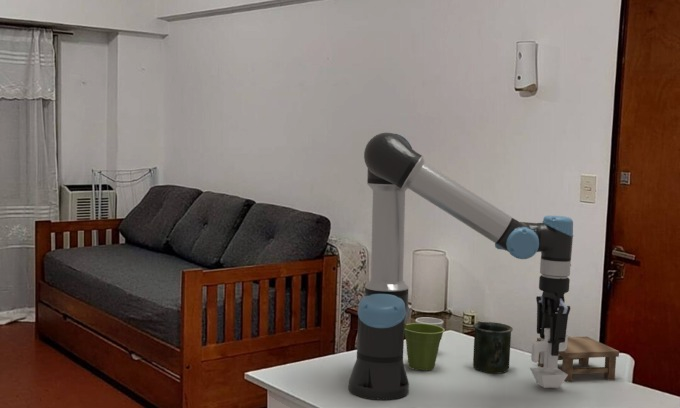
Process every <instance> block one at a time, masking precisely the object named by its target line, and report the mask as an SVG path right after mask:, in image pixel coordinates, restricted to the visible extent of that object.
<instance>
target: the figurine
mask: <svg viewBox="0 0 680 408" xmlns="http://www.w3.org/2000/svg"><path fill="white" fill-rule="evenodd" d="M544 335H545V339H544V341H537V340H536V341H534V342H532V345H531V354H530V355H531V356H530V357H531V358H530V359H531V361H532V362H533V363H537V364H538V360H539V353H540V352H544V367H539V366H538V367H529V369H530V371H531V373H532V376H533V378H534V380H535V382H536V384H538V385H539V386H541V387H542V388H545V389H546V388H547V389H550V388H552V389H553V388H561V386H562V384H563V383H564V382H565V381H564V380H565V379H566V377H567V376H568V374H566V373H565V372H563V371H562V369H559V368H558V367H557V368H547V367H546V366H547V351H548V341H550V328H544ZM568 335H569V334H568V330H566V337H565V342H563V343H560V344H559V351H565V350H566V349H567V339H568V337H569V336H568Z"/></svg>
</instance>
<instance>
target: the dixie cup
mask: <svg viewBox="0 0 680 408" xmlns="http://www.w3.org/2000/svg"><path fill="white" fill-rule="evenodd" d="M415 323H424V324H432V325H437V326H440V327H442V328H443V325H444V319H440V318H438V317H437V318H436V317H428V316H427V317H417V318H416V319H415Z"/></svg>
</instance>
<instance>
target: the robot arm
mask: <svg viewBox="0 0 680 408" xmlns="http://www.w3.org/2000/svg"><path fill="white" fill-rule="evenodd" d="M363 158H364V163H365V165H366V168H367V180H366V181H367V182H366V184H367V186H368V187H369V188H370V189H371V191H372V207H371V208H372V210H371V211H372V213H371V214H372V215H371V224H372V225H371V261H370V266H371V267H370V280H369V281H368V282H367V283H365V285H364V296H363V297H361V299H360V300H359V302H358V303H359V304H358V309H357V316H358V317H357V318H358V319H357V342H356V360H355V362H354V365H353V368H352V371H351V373H350V377H349V379H348V391H349V392H350V393H351V394H352V395H355V396H358V397H361V398H364V399H371V400H395V399H400V398H403V397H405V396H407V395H409V391H410V382H409V379H408V376H407V371H406V367H405V364H404V343H405V342H404V341H405V332H404V329H405V326H406V324H408V320H409V318H410V307H409V286H408V285H407V283H406V282H405V281H404V255H405V254H404V253H405V216H406V215H405V214H406V213H405V212H406V211H405V210H406V208H405V207H406V191H407V190H408V189H409V190H410V191H412V192H414V193H415V194H416V195H418V196H420V197H421V198H423V199H424V200H426V201H428V202H429V203H431V204H433V205H434V206H435V207H437V208H439V209H440V210H442V211H444V212H445V213H447V214H448V215H450V216H452V217H453V218H455V219H456V220H458V221H459V222H461V223H462V224H464V225H466V226H468V227H470V229H472V230H474V231H476V232H477V233H478V234H479V235H482V236H484V237H485V238H487V239H488V240H490V241H491V242H493V243H494V247H495V249H497V250H504V251H507V252H508V253H509V254H510V255H511V256H512V257H514V258H516V259H518V260H519V259H520V260H527V259H530V258H532V257H533V256H535V255H536V254H537V253H541V254H540V255H541V256H540V263H539V264H540V266H539V274H540V276H539V279H538V280H539V282H538V289H539V291H542V294H541V295H539V296H536V298H535V300H536V333H537V334H538V335H539V338H541V341H544V339H545V335H544V328H550V341H548V351H547V366H546V367H547V368H558V366H559V365H558V363H559V362H558V361H559V360H558V354H559V344H560V343H563V342H565V337H566V331H567V327H568V321H569V320H568V319H569V315H570V311H571V306H570V305H567V304H565V301H566V300H565V294H566V293H568V292H569V291H570V278H569V277H570V275H571V267H572V264H571V262H572V261H571V260H572V253H573V252H572V251H573V250H572V249H573V240H574V221H573V219H572V218H571V217H567V216H563V215H545V216H544V217H543V220H542V222H525V221H518V219H515V218H513V217H512V216H510V215H509V214H507V213H506V212H505V211H503V210H501V209H499V208H498V207H496V206H495V205H494V204H492V203H490V202H488V201H487V200H485V199H484V198H482V197H481V196H479V195H477V194H476V193H474V192H473V191H471V190H470V189H468V188H467V187H465V186H463V185H461V184H460V183H459V182H456V180H453V179H452V178H450V177H449V176H447V175H445V174H444V173H442V172H441V171H439V170H438V169H436V168H434V167H433V166H431V165H430V164H428V163H427V162H425V158H424V156H423V155H422V154H420V153H418V151H415V150H414V149H413V147H412V144H411V143H410V141H408V139H407V138H405V137H404V136H402V135H401V134H398V133H393V132H381V133H378V134H376V135H374V136H372V138H370V139H369V141H367V144H366V146H365V148H364V152H363ZM540 363H541V364H544V352H540Z"/></svg>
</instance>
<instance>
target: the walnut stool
mask: <svg viewBox="0 0 680 408" xmlns="http://www.w3.org/2000/svg"><path fill="white" fill-rule="evenodd" d="M536 341H541V337H537V338H536ZM619 357H620V351H619V350H617V349H615V348H613V347H611V346H608V345H607V344H604V343H602V342H600V341H597V340H595V339H594V338H590V337H589V336H568V339H567V349H566V350H565V351H559V354H558V361H562V365H561V371H563V372H565V373H566V374H568V376H567V377H566V379H565V380H564V382H566V383H567V381H569V382H573V375H580V374H582V375H583V374H602V373H603V378H604V379H606V380H608V379H609V380H610V381H611V380H615V381H616V365H617V364H616V363H617V358H619ZM591 358H593V359H594V358H604V366H598V367H597V366H596V367H595V366H594V367H592V366H591V367H589V364H590V363H589V361H590V359H591ZM574 360H578V365H580V366H581V367H574ZM537 364H538V365H537V366H538V367H544V364H541V363H540V353H539V360H538V362H537Z"/></svg>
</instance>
